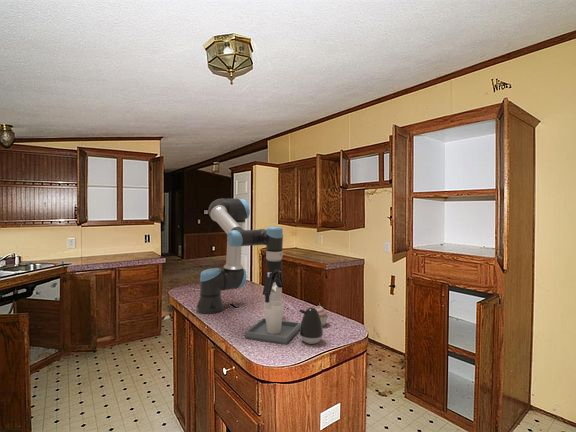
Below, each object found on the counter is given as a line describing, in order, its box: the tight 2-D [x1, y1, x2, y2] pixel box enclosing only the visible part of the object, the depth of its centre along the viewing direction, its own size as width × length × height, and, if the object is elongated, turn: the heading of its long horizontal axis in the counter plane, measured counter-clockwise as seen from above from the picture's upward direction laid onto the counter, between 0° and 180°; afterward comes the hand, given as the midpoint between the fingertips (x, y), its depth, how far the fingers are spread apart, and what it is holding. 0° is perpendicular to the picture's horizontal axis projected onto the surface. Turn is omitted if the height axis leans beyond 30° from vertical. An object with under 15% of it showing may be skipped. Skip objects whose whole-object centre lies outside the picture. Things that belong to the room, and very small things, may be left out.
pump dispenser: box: [299, 306, 324, 345], centre depth 146 cm, size 10×10×15 cm
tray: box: [244, 317, 301, 346], centre depth 155 cm, size 20×20×3 cm
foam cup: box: [263, 301, 285, 334], centre depth 155 cm, size 10×9×13 cm
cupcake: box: [314, 305, 329, 327], centre depth 167 cm, size 9×9×10 cm
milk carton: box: [264, 282, 283, 319], centre depth 175 cm, size 7×7×19 cm
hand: (273, 304), depth 155 cm, fingers open, 13 cm apart
